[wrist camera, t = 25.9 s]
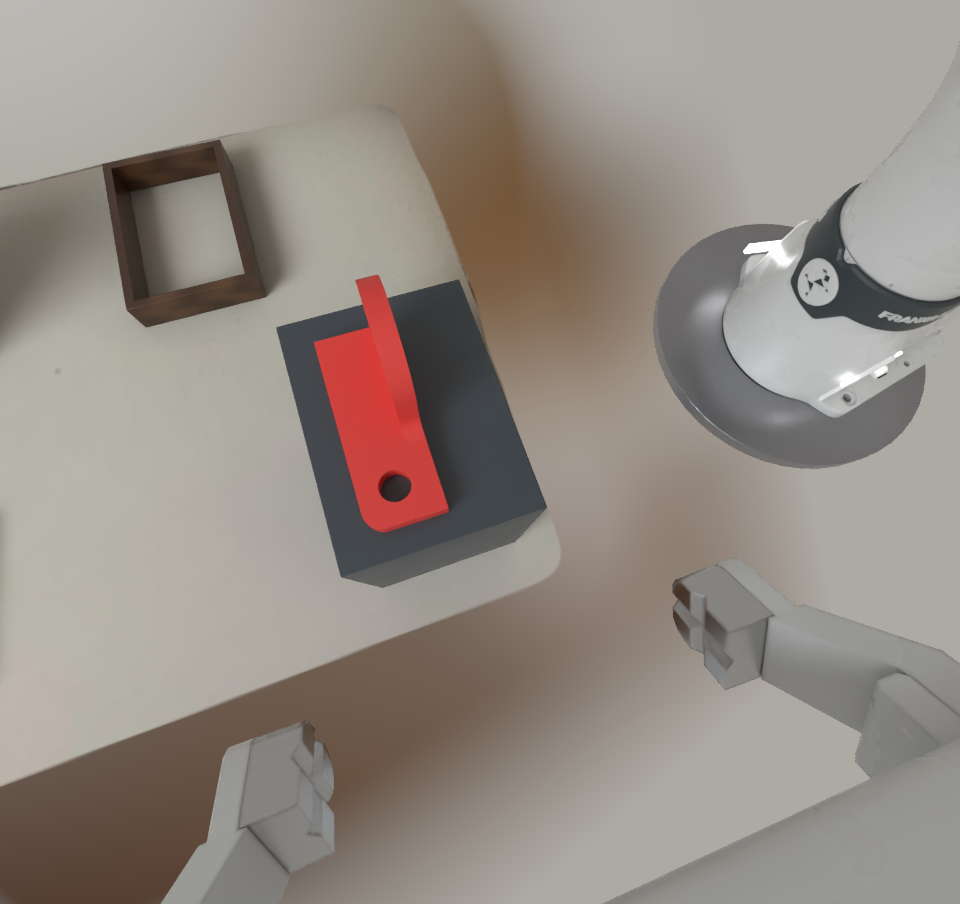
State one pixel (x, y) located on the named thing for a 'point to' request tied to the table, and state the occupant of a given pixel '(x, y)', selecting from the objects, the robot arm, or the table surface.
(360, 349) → the bracket
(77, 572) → the table surface
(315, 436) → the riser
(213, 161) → the open rectangular wooden frame
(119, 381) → the table surface
